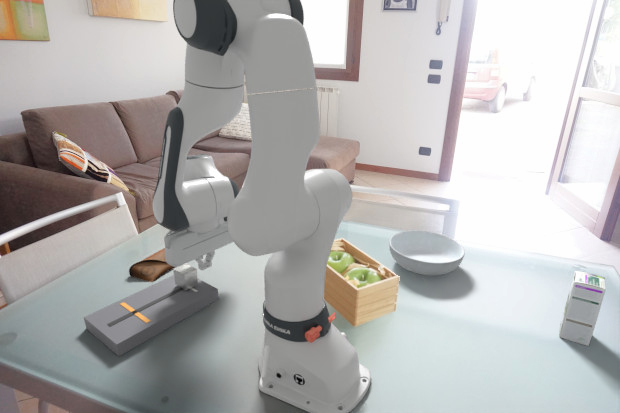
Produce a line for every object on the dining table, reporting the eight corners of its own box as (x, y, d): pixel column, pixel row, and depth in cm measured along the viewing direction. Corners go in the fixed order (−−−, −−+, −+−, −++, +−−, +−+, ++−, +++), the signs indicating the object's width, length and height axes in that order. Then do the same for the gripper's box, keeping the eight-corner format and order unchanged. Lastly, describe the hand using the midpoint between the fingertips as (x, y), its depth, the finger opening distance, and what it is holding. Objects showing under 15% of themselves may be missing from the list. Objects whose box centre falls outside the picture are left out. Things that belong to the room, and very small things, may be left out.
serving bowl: (461, 291, 107) (465, 268, 105) (382, 276, 114) (384, 255, 111) (461, 255, 126) (464, 235, 123) (392, 245, 132) (394, 225, 129)
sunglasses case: (152, 283, 108) (139, 261, 108) (137, 289, 112) (125, 268, 112) (197, 254, 124) (186, 235, 123) (183, 261, 127) (172, 242, 127)
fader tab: (198, 284, 102) (196, 268, 101) (186, 290, 100) (184, 274, 98) (187, 278, 105) (185, 263, 103) (175, 284, 102) (173, 268, 100)
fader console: (218, 299, 102) (217, 288, 101) (119, 356, 83) (116, 344, 82) (184, 280, 110) (183, 270, 109) (86, 328, 91) (83, 316, 90)
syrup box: (589, 347, 88) (608, 289, 83) (557, 337, 91) (574, 280, 85) (589, 332, 92) (607, 277, 87) (559, 323, 95) (574, 269, 90)
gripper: (171, 236, 91) (178, 289, 96) (240, 209, 106) (242, 257, 111) (155, 228, 95) (162, 280, 100) (224, 204, 110) (227, 250, 115)
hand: (205, 267), depth 106 cm, fingers closed
